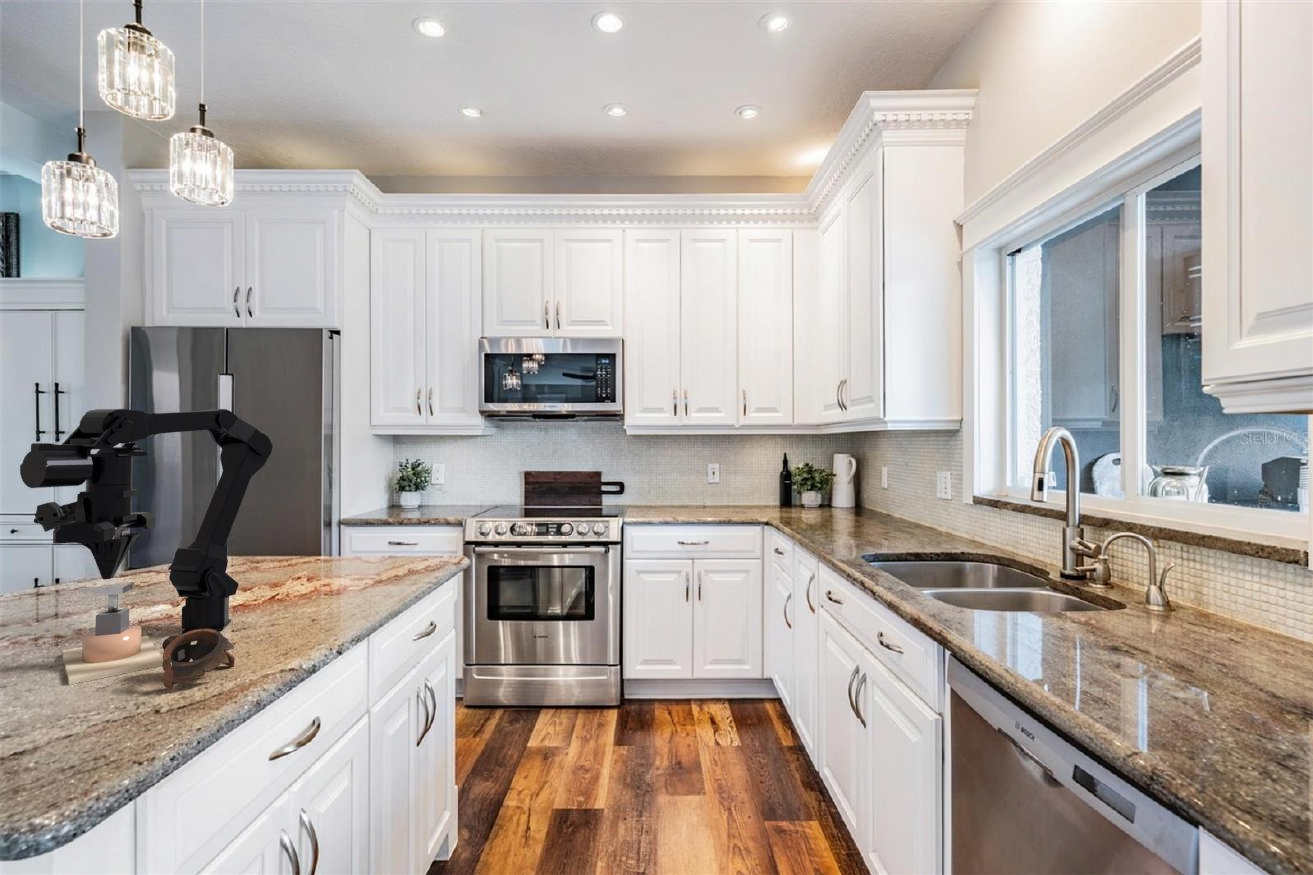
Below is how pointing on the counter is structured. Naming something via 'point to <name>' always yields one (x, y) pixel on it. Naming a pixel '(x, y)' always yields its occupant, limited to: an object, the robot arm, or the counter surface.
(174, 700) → the counter surface
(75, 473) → the robot arm
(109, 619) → the pump jar
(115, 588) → the pump head
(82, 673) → the birch board
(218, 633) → the brown ring stand
